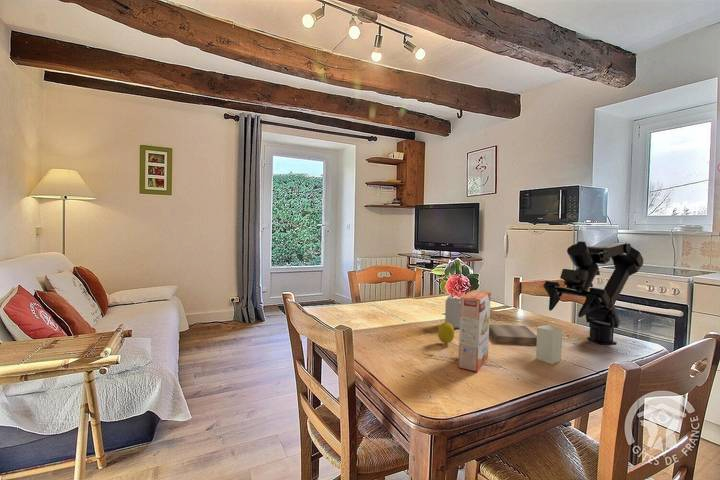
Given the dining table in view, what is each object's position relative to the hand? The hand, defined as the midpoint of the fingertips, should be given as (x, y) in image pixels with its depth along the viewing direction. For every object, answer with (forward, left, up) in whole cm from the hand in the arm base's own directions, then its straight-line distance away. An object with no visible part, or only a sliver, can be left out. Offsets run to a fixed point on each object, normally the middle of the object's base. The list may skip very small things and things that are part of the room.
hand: (563, 313), depth 112 cm
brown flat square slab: (+7, -17, -14) cm, 24 cm away
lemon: (+34, -12, -14) cm, 39 cm away
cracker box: (+31, +4, -14) cm, 34 cm away
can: (+23, -32, -14) cm, 42 cm away
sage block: (+7, +4, -14) cm, 16 cm away
